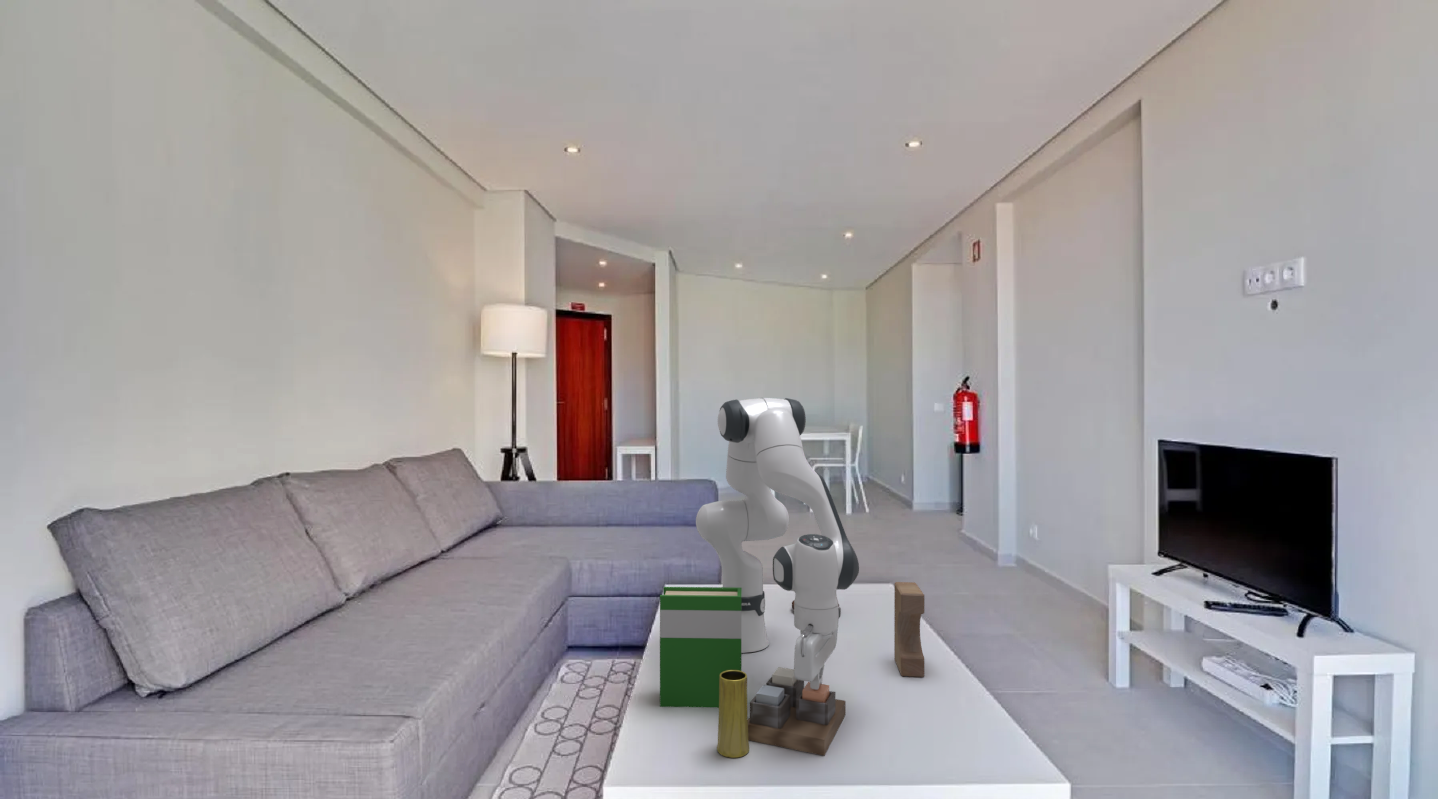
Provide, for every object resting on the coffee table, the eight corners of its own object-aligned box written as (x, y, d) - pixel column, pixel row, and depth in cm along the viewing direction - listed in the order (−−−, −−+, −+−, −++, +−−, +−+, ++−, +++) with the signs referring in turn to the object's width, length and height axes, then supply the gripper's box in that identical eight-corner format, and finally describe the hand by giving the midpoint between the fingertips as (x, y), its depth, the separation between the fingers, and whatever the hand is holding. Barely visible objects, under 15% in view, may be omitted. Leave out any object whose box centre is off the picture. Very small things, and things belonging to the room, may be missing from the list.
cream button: (772, 689, 145) (772, 674, 145) (778, 681, 149) (778, 667, 149) (792, 693, 143) (792, 677, 143) (798, 685, 147) (798, 670, 147)
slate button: (756, 709, 136) (756, 693, 136) (763, 700, 140) (763, 684, 140) (777, 713, 134) (777, 697, 134) (784, 704, 138) (784, 688, 138)
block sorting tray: (744, 739, 135) (744, 703, 135) (773, 701, 151) (773, 670, 151) (824, 755, 128) (824, 718, 128) (845, 714, 145) (845, 681, 145)
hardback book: (659, 706, 149) (659, 596, 149) (663, 692, 156) (663, 586, 156) (741, 708, 148) (741, 597, 148) (741, 693, 156) (741, 587, 156)
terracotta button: (802, 706, 137) (802, 690, 137) (808, 697, 141) (808, 681, 141) (824, 710, 135) (824, 693, 135) (829, 700, 140) (829, 685, 140)
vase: (715, 742, 133) (716, 669, 133) (747, 741, 134) (747, 668, 134) (718, 759, 127) (718, 682, 127) (751, 757, 128) (751, 681, 128)
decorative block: (924, 678, 164) (924, 594, 164) (900, 676, 165) (900, 593, 165) (917, 660, 175) (917, 582, 175) (894, 659, 176) (894, 581, 176)
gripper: (818, 636, 127) (818, 710, 127) (842, 605, 146) (842, 670, 146) (785, 631, 130) (785, 704, 130) (813, 602, 149) (814, 666, 149)
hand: (816, 686), depth 138 cm, fingers closed
